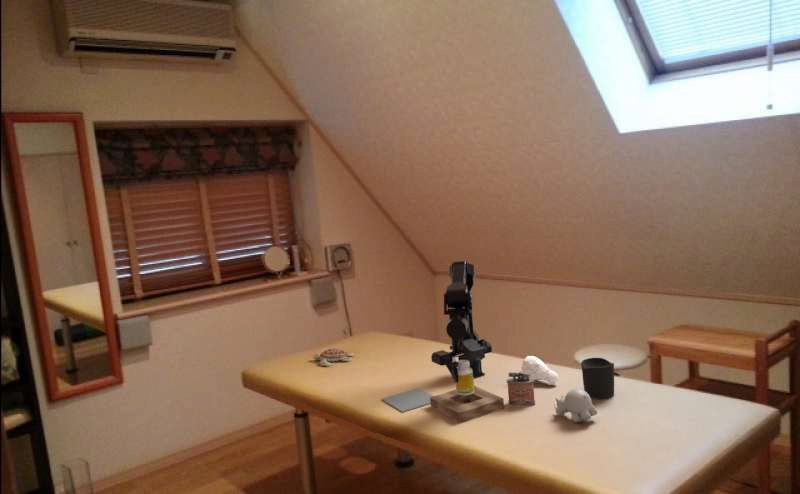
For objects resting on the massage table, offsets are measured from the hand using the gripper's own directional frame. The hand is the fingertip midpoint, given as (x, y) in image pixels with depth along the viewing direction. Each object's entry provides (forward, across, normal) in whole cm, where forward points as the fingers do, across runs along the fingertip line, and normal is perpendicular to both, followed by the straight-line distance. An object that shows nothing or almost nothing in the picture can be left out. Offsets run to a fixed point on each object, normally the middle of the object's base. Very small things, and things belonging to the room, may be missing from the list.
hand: (464, 379), depth 181 cm
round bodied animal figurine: (+9, +18, -27) cm, 33 cm away
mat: (+9, -10, +17) cm, 22 cm away
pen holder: (+9, +36, -19) cm, 42 cm away
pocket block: (+9, 0, 0) cm, 9 cm away
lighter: (+9, +14, -9) cm, 19 cm away
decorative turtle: (+10, -12, +77) cm, 79 cm away
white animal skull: (+9, +30, 0) cm, 31 cm away
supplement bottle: (+4, 0, 0) cm, 4 cm away
